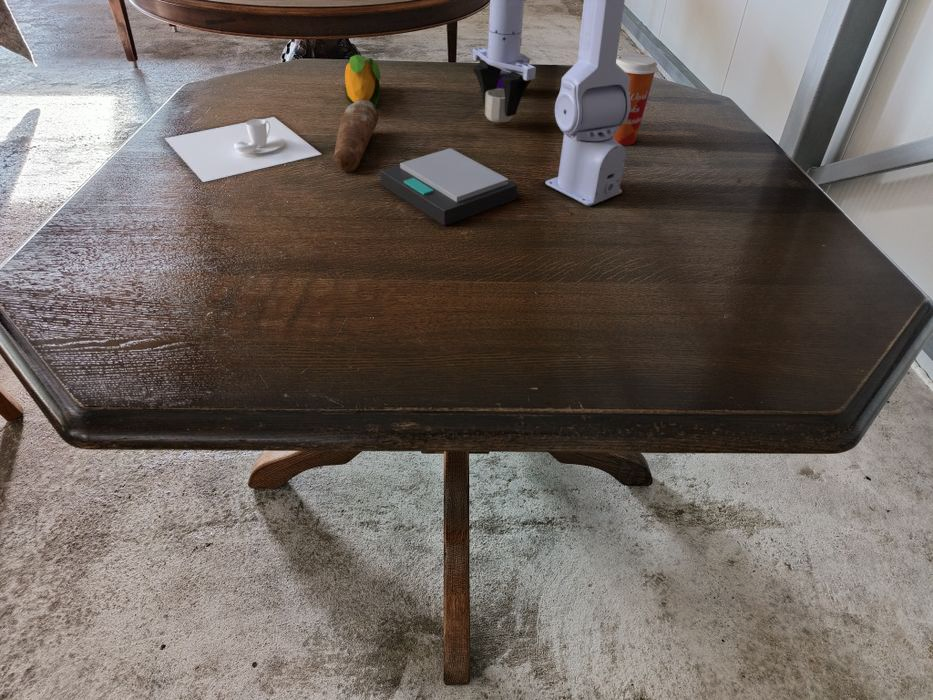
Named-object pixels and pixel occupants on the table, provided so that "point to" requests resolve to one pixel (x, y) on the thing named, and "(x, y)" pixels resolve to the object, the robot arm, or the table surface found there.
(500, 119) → the white faceted cup
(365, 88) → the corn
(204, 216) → the table surface
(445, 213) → the scale
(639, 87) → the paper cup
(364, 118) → the brown yam
